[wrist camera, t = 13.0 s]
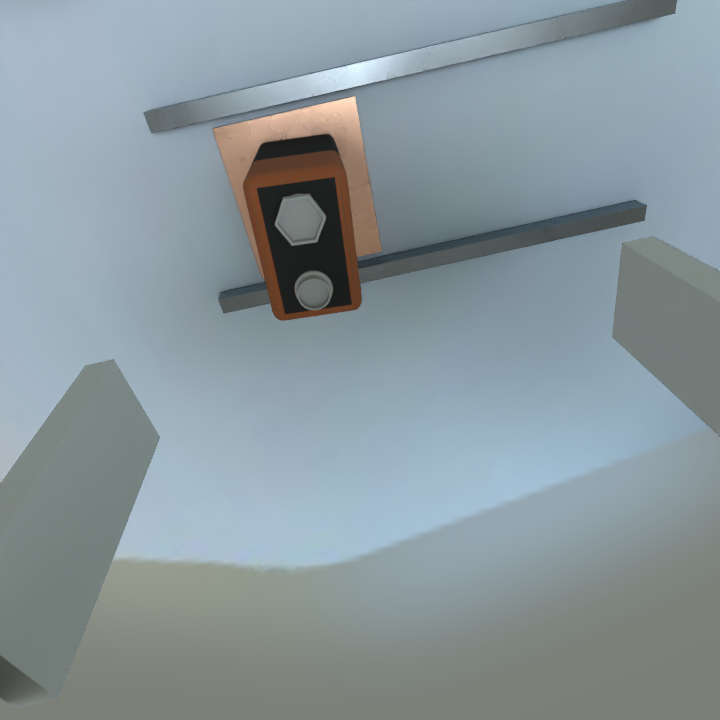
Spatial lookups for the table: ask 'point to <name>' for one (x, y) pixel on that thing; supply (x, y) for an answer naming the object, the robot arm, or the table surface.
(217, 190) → the table surface
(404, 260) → the rail
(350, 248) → the battery
